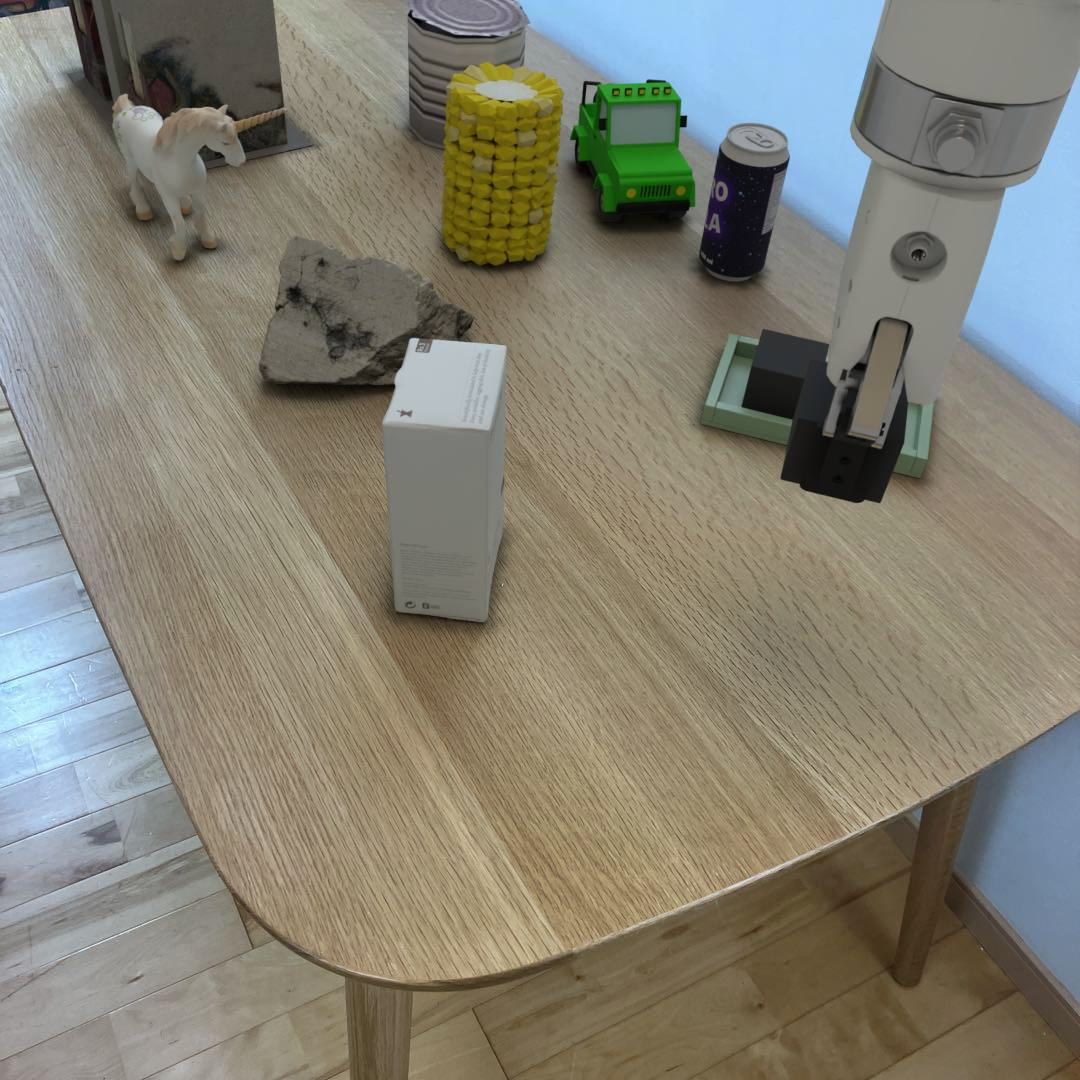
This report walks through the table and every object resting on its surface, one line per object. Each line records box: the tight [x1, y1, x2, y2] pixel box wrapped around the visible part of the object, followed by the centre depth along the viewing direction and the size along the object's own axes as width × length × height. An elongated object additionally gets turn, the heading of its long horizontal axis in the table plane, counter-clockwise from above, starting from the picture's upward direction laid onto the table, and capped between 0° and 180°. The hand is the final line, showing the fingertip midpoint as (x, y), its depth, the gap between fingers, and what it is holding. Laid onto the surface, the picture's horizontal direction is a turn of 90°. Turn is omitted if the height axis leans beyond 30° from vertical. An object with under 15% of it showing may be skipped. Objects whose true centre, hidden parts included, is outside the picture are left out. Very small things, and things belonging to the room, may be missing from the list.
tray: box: [700, 333, 935, 479], centre depth 83 cm, size 16×10×2 cm, turn 72°
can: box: [406, 0, 531, 151], centre depth 108 cm, size 11×11×12 cm
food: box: [440, 62, 565, 267], centre depth 93 cm, size 15×12×10 cm
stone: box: [258, 235, 475, 386], centre depth 82 cm, size 12×17×10 cm
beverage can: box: [698, 122, 791, 283], centre depth 93 cm, size 6×6×12 cm
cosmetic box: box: [381, 338, 508, 623], centre depth 65 cm, size 8×6×15 cm
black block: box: [741, 328, 830, 420], centre depth 83 cm, size 5×5×4 cm
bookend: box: [66, 0, 314, 170], centre depth 106 cm, size 16×25×16 cm, turn 33°
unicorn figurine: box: [112, 94, 288, 261], centre depth 90 cm, size 7×20×13 cm, turn 54°
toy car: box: [569, 78, 696, 222], centre depth 102 cm, size 8×17×10 cm, turn 12°
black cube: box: [779, 359, 908, 504], centre depth 56 cm, size 5×5×4 cm
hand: (837, 453), depth 57 cm, fingers closed on black cube, 5 cm apart
